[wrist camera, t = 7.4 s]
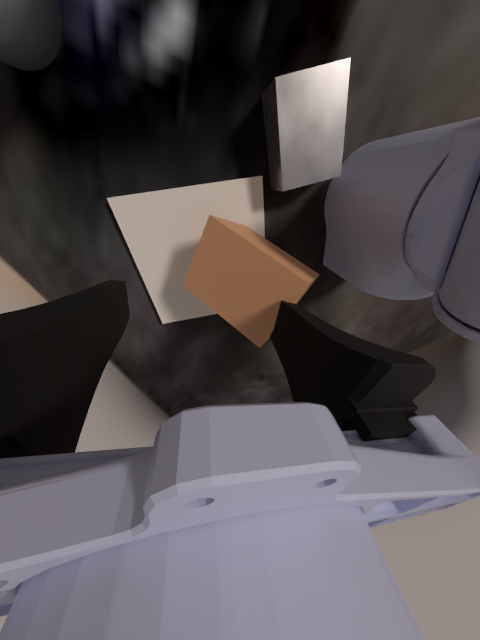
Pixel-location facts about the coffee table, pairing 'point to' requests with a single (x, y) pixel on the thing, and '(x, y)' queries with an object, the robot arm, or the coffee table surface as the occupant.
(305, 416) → the robot arm
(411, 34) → the coffee table surface
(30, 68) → the grey rounded capsule
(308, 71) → the metal tin
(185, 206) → the ceramic tile
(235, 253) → the terracotta block
